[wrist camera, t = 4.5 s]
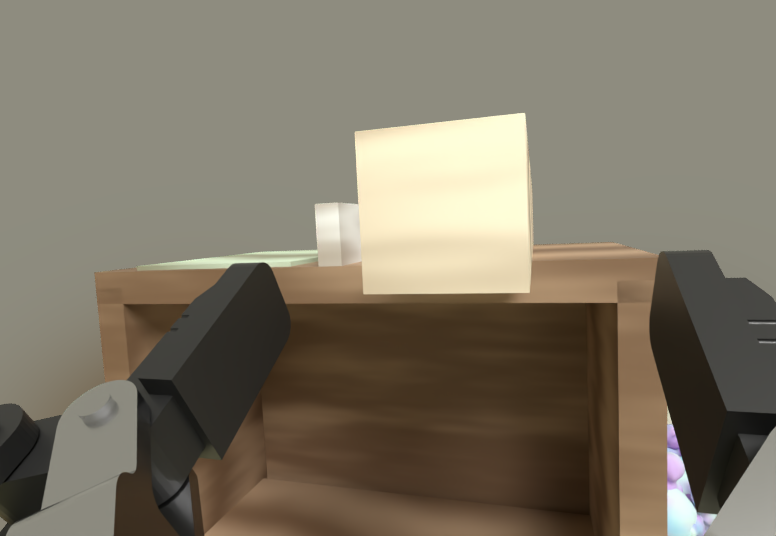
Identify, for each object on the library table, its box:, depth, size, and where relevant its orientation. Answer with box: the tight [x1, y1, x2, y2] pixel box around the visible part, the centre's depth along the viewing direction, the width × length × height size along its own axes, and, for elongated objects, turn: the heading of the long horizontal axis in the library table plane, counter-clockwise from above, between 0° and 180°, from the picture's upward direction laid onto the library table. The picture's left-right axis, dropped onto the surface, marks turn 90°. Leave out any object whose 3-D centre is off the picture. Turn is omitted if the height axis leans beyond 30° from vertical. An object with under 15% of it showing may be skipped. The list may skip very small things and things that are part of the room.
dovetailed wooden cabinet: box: [95, 203, 668, 536], centre depth 27 cm, size 12×24×34 cm, turn 73°
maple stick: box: [355, 113, 533, 294], centre depth 22 cm, size 24×4×4 cm, turn 163°
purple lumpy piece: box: [667, 424, 717, 536], centre depth 51 cm, size 20×22×18 cm
